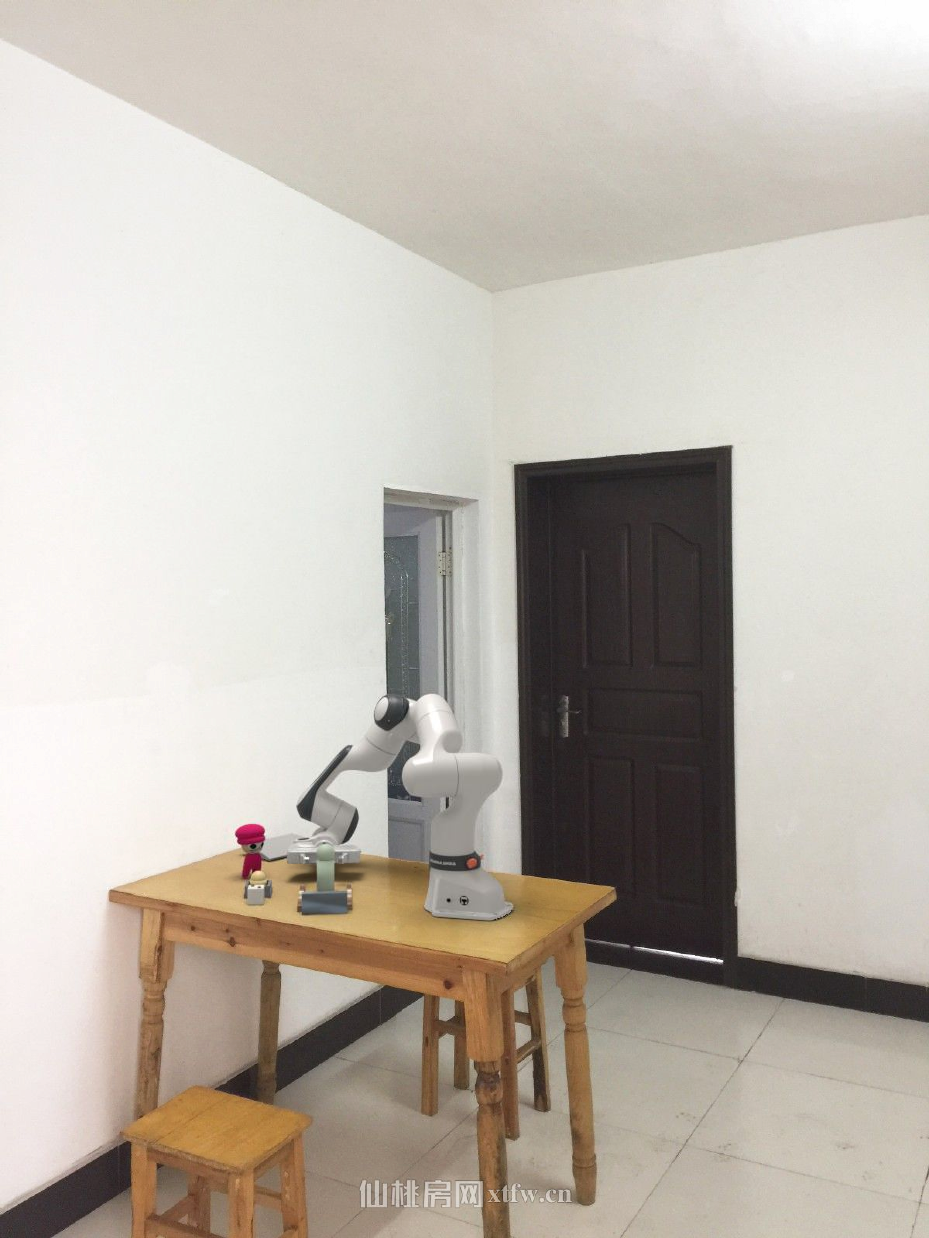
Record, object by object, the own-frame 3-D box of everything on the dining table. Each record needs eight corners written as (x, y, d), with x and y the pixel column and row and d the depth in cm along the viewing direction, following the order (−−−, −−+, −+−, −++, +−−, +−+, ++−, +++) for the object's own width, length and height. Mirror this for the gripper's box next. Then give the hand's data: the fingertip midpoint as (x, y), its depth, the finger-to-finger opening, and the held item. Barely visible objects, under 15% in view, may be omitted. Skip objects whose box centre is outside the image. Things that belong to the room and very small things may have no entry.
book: (233, 857, 321) (233, 844, 321) (291, 844, 339) (291, 831, 339) (266, 865, 312) (266, 851, 311) (323, 851, 329) (323, 838, 329)
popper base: (272, 890, 282) (272, 879, 282) (270, 897, 275) (270, 886, 275) (246, 891, 281) (246, 880, 281) (243, 898, 274) (243, 886, 274)
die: (264, 899, 272) (264, 882, 272) (263, 904, 268) (263, 886, 268) (248, 900, 272) (248, 883, 272) (247, 904, 268) (247, 887, 268)
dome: (267, 884, 280) (267, 868, 280) (266, 888, 276) (266, 872, 276) (250, 884, 280) (250, 868, 280) (249, 889, 275) (249, 873, 275)
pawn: (338, 891, 280) (338, 843, 280) (328, 896, 276) (328, 846, 276) (322, 889, 282) (322, 841, 282) (312, 894, 278) (312, 845, 278)
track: (300, 889, 283) (300, 870, 283) (351, 887, 285) (351, 869, 284) (296, 914, 260) (296, 894, 260) (352, 912, 261) (352, 892, 261)
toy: (250, 882, 289) (250, 828, 289) (228, 878, 294) (228, 824, 294) (272, 876, 296) (272, 823, 296) (250, 871, 301) (250, 819, 301)
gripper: (360, 860, 301) (361, 871, 287) (288, 861, 298) (285, 873, 285) (361, 838, 301) (362, 848, 287) (288, 839, 298) (286, 850, 285)
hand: (323, 860), depth 286 cm, fingers open, 8 cm apart
